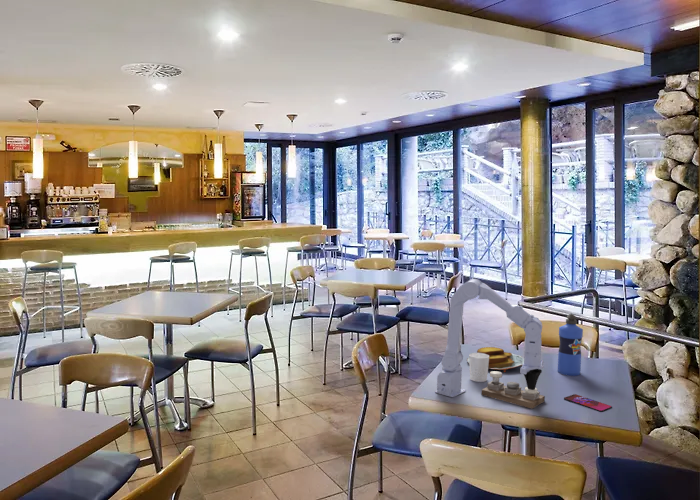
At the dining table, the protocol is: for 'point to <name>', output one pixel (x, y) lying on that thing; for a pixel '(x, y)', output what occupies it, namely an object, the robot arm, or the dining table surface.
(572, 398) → the smartphone
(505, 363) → the food on plate
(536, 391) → the right knob
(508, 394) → the knob mount
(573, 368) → the water bottle
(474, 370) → the white cup
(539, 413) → the dining table surface
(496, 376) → the left knob
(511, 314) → the robot arm
